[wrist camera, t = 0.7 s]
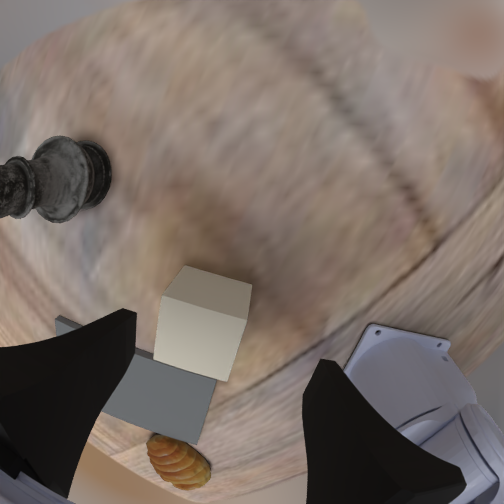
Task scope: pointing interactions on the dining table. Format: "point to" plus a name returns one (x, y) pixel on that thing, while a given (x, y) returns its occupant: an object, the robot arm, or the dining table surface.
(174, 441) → the pastry
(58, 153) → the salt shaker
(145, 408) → the board
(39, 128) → the dining table surface
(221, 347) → the block
